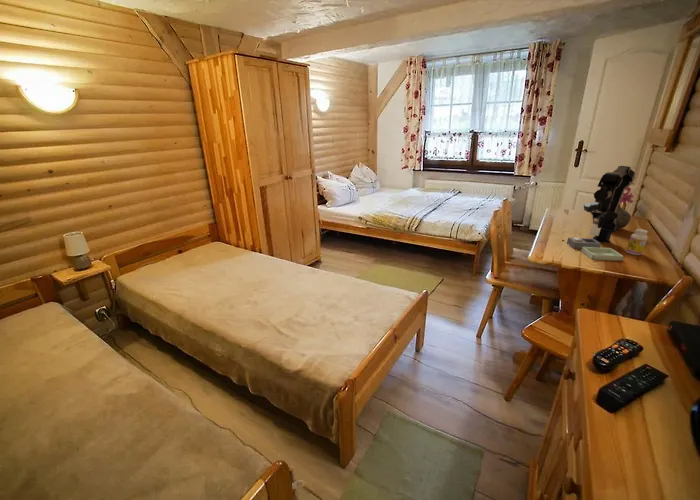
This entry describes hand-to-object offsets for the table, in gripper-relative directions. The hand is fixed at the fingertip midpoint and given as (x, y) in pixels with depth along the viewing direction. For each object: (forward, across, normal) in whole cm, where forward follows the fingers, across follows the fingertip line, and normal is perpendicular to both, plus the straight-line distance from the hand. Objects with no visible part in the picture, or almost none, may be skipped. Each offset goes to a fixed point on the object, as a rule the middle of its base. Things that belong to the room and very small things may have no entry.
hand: (596, 226), depth 170 cm
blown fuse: (+4, 0, 0) cm, 4 cm away
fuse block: (+13, -3, -3) cm, 13 cm away
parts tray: (+13, +10, 0) cm, 16 cm away
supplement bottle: (+13, +4, +19) cm, 24 cm away
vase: (+12, -39, +30) cm, 50 cm away
